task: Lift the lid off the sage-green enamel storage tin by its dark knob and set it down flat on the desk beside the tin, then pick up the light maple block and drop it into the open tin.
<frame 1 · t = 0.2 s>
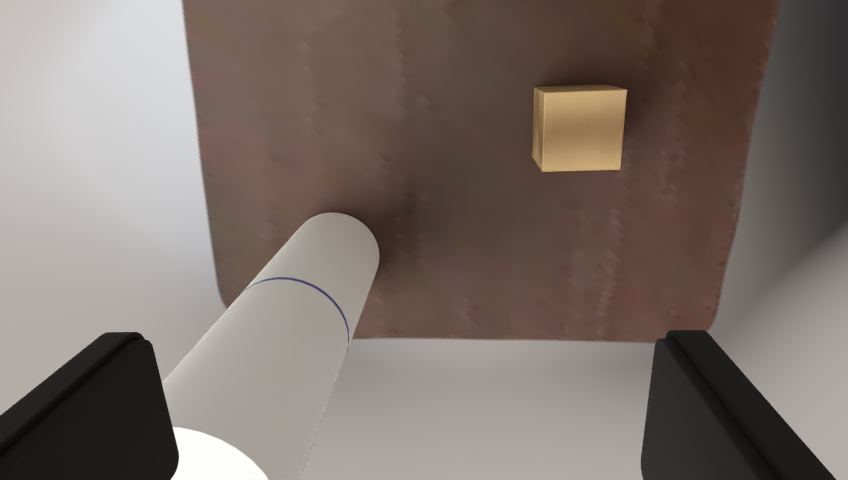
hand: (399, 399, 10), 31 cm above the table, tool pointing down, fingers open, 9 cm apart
block: (568, 121, 38), on the table
cylindrical container: (336, 253, 43), on the table
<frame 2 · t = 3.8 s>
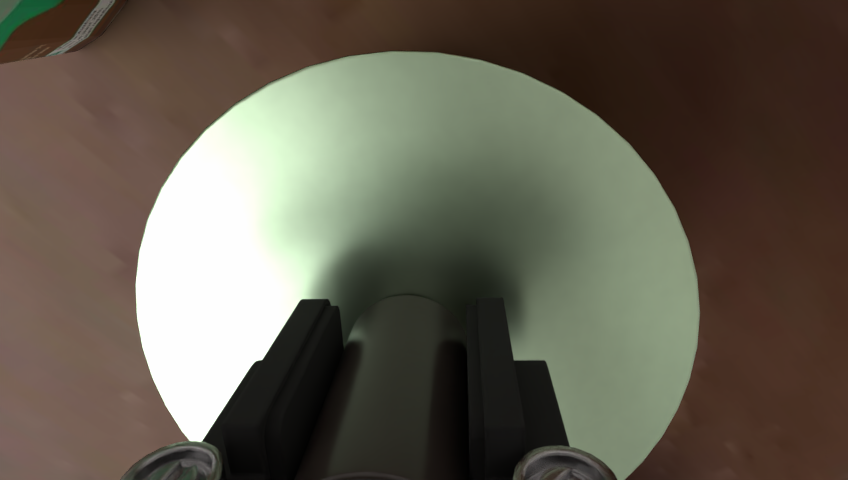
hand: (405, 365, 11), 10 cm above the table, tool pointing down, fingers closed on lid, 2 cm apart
lid: (410, 335, 12), point 9 cm above the table, touching gripper
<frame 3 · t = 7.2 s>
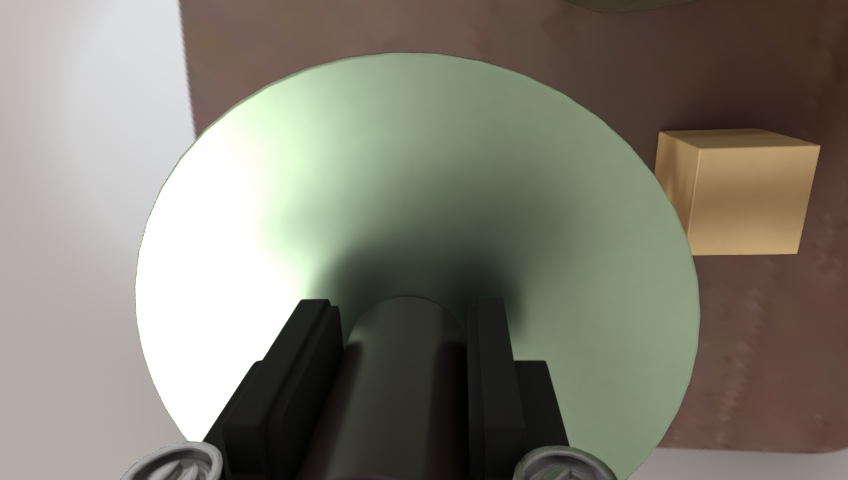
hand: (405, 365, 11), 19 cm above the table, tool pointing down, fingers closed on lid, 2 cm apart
block: (701, 176, 28), on the table
lid: (410, 337, 12), point 18 cm above the table, touching gripper
when the fingers open (2 cm above the table, at t = 11.1 s): lid stays where it is, point 1 cm above the table.
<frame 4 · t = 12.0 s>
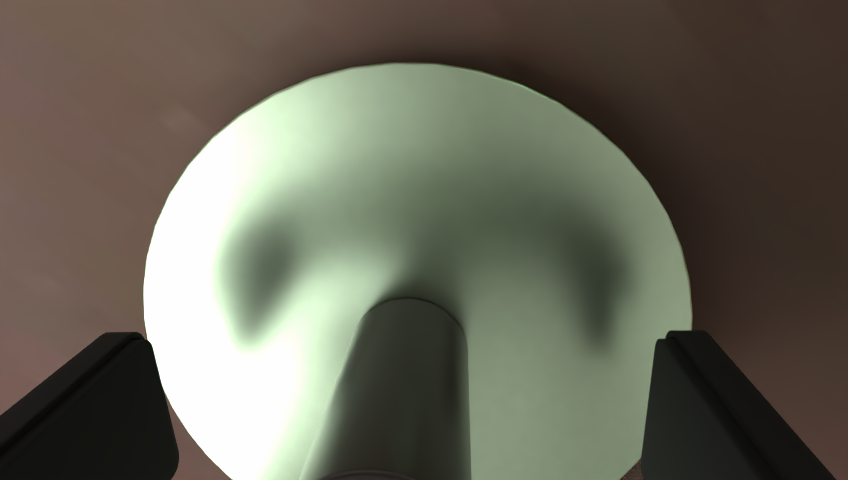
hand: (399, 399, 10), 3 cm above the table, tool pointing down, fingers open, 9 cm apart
lid: (411, 338, 12), point 1 cm above the table
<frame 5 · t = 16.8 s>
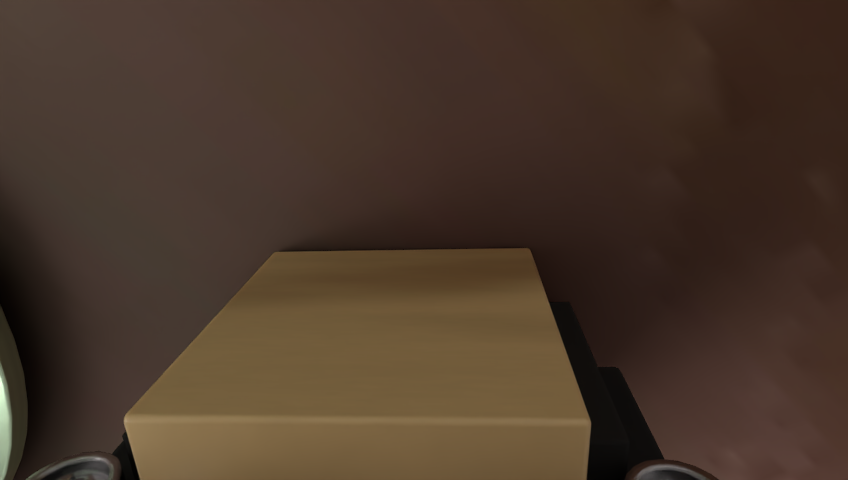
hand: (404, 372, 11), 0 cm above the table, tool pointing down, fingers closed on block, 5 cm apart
block: (406, 360, 11), on the table, touching gripper
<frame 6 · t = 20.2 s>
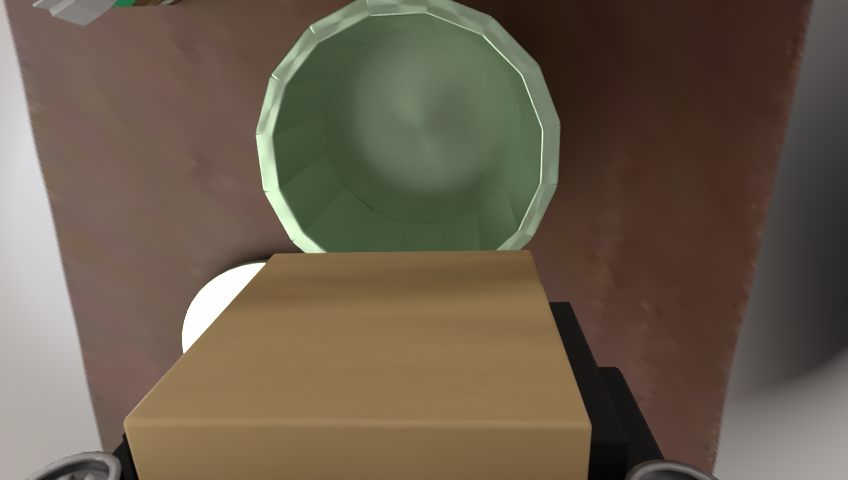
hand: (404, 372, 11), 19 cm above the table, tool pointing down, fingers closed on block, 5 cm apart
block: (406, 361, 11), point 19 cm above the table, touching gripper
lid: (283, 351, 32), point 1 cm above the table
tin: (421, 129, 28), on the table
when the fingers open (7 cm above the table, at t = 24.3 s): block stays where it is, resting on tin.
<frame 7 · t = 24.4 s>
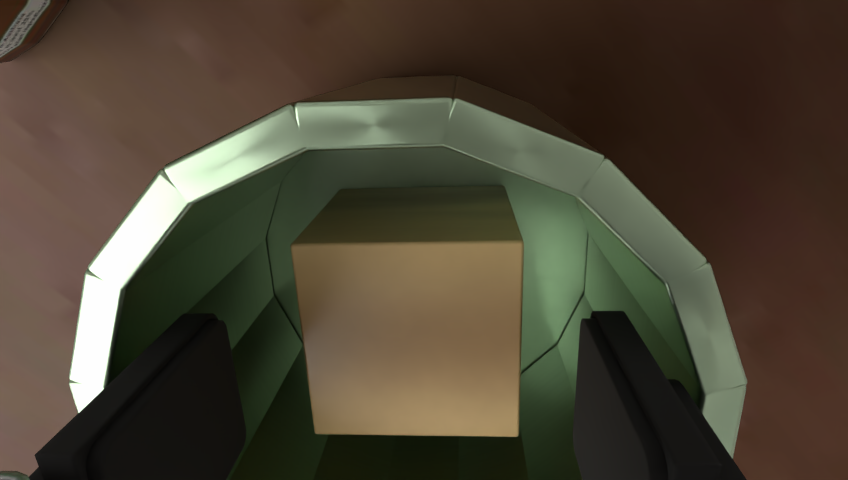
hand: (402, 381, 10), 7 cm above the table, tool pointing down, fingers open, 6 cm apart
block: (424, 263, 17), resting on tin
tin: (425, 259, 17), on the table
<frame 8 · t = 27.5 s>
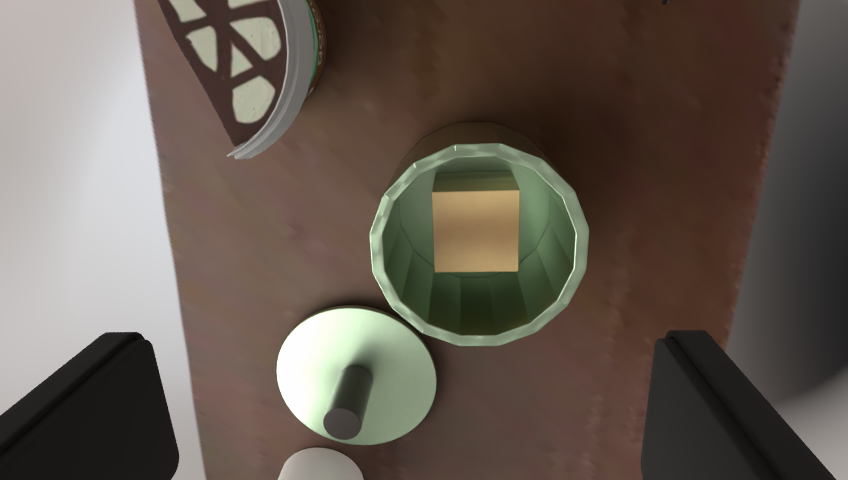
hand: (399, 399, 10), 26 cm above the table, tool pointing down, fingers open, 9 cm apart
food container: (293, 23, 33), on the table
block: (473, 208, 35), resting on tin
cylindrical container: (323, 479, 45), on the table
lid: (357, 376, 40), point 1 cm above the table
tin: (473, 206, 36), on the table
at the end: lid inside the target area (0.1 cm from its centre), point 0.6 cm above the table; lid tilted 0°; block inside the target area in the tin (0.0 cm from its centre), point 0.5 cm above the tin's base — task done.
